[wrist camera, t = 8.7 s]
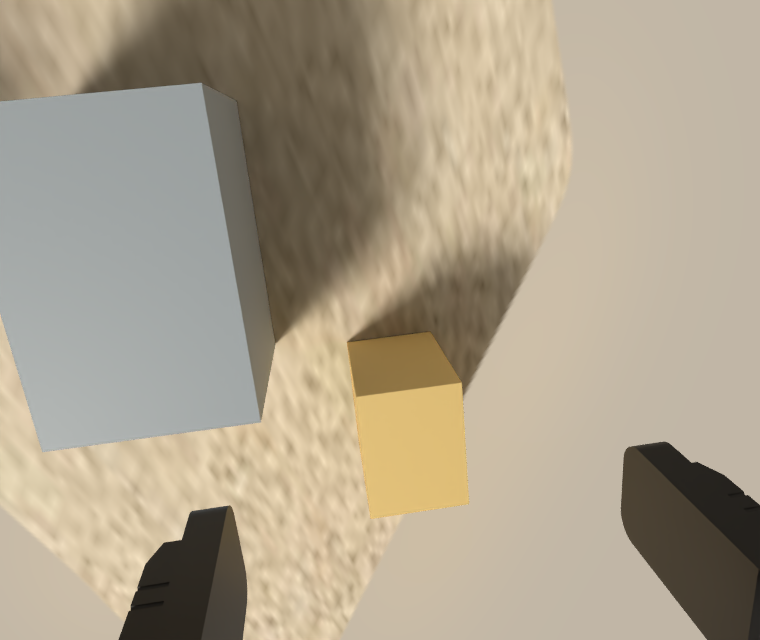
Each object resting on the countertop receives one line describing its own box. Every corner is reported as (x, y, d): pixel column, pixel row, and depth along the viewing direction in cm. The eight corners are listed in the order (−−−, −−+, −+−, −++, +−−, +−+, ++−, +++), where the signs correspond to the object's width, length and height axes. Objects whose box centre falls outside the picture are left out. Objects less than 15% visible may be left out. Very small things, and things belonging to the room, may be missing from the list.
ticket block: (58, 117, 27) (-63, 107, 18) (236, 100, 27) (201, 82, 19) (119, 365, 30) (43, 454, 22) (275, 345, 31) (261, 424, 22)
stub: (347, 342, 31) (356, 396, 25) (430, 331, 32) (461, 382, 25) (359, 442, 33) (370, 518, 26) (438, 431, 33) (469, 504, 27)
